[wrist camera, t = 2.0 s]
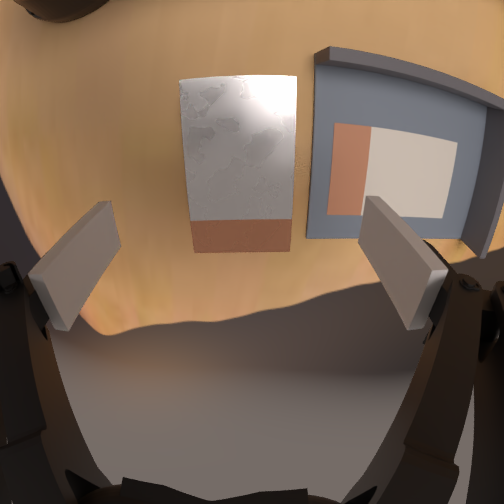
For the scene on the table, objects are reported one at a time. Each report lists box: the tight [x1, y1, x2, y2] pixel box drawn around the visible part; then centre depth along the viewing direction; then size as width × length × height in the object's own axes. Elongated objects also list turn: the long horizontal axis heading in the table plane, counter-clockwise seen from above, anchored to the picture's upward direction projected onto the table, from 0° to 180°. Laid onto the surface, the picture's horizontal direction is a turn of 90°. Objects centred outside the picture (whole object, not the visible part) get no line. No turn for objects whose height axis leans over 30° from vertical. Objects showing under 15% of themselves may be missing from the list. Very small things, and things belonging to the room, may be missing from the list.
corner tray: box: [306, 46, 504, 258], centre depth 25 cm, size 20×24×6 cm
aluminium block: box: [179, 75, 296, 253], centre depth 24 cm, size 14×8×8 cm, turn 1°
